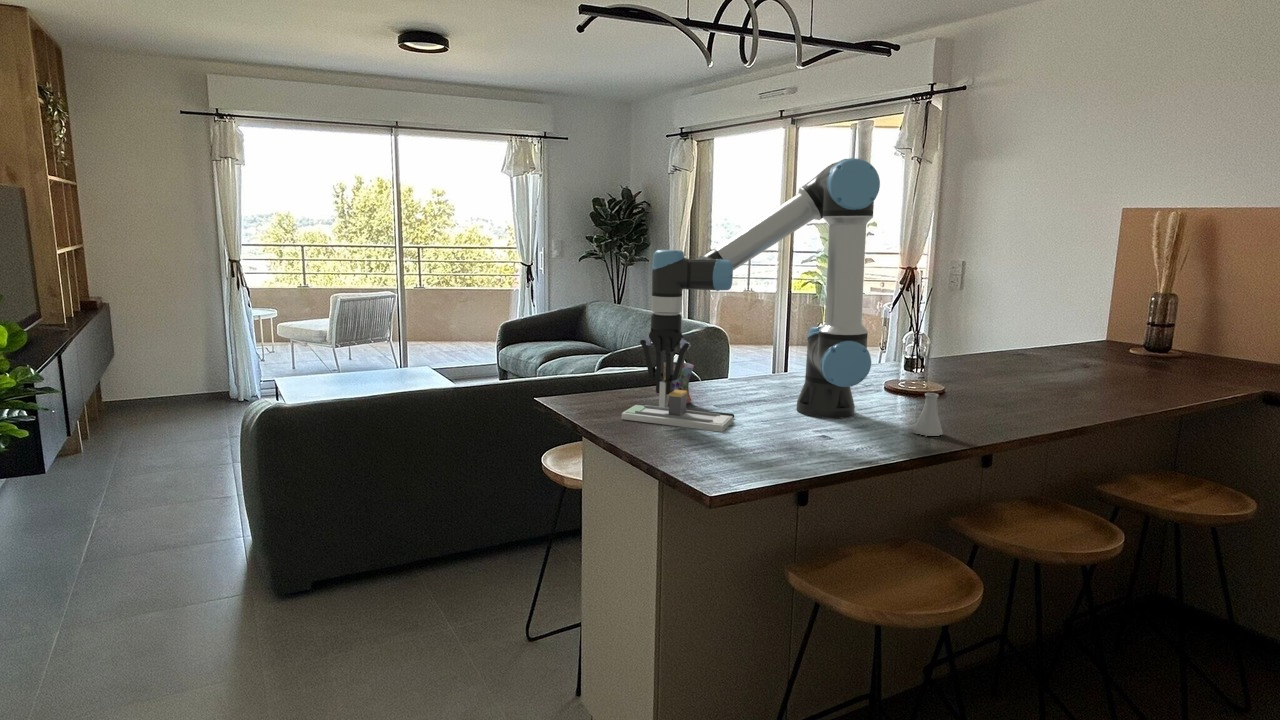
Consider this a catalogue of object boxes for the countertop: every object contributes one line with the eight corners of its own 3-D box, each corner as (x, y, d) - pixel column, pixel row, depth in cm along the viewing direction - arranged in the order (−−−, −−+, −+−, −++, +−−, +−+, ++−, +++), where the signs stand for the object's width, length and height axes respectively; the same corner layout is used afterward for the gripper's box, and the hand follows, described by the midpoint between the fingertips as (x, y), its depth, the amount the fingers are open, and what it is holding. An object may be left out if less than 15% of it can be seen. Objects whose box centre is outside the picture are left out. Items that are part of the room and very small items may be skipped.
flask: (940, 440, 182) (944, 399, 181) (909, 434, 186) (912, 394, 184) (946, 433, 188) (950, 393, 187) (915, 428, 192) (919, 389, 190)
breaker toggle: (686, 412, 194) (686, 390, 193) (680, 416, 189) (680, 394, 188) (674, 411, 195) (675, 389, 194) (668, 415, 190) (669, 393, 189)
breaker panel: (732, 422, 193) (732, 413, 192) (722, 431, 184) (722, 423, 183) (635, 410, 202) (635, 402, 201) (621, 419, 192) (621, 410, 192)
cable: (734, 418, 197) (734, 413, 197) (733, 419, 196) (734, 414, 195) (647, 409, 203) (647, 404, 203) (646, 410, 202) (646, 405, 202)
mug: (697, 406, 208) (699, 367, 206) (664, 407, 206) (666, 368, 204) (682, 396, 219) (684, 359, 218) (651, 397, 217) (652, 360, 215)
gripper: (696, 313, 190) (692, 406, 195) (646, 309, 195) (644, 400, 199) (687, 316, 183) (683, 412, 188) (636, 312, 188) (634, 406, 192)
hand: (663, 406), depth 193 cm, fingers closed
